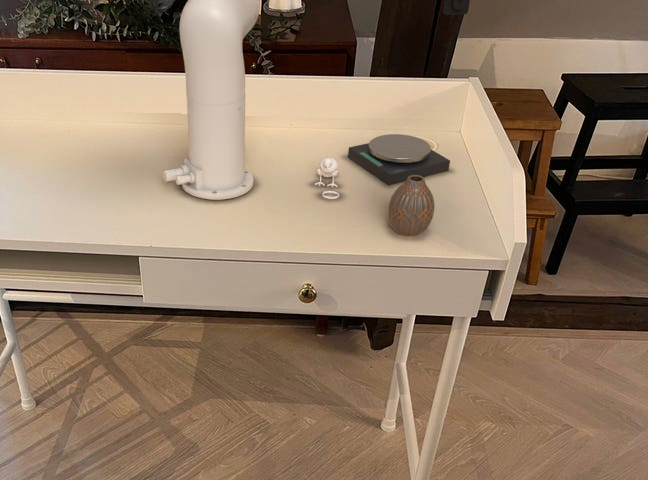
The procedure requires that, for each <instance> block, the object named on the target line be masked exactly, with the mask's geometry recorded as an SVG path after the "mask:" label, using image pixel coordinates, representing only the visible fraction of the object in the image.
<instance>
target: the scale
mask: <svg viewBox="0 0 648 480" xmlns="http://www.w3.org/2000/svg"><path fill="white" fill-rule="evenodd" d="M368 147H369V142H367V143H363V144H359V145H354V146H348V151H347V153H348V154H347V158H348V159H349V160H351V161H352V162H354V163H355V164H357V165H358V166H360V167H361V168H363V169H364V170H366V171H367V172H369V174H371V175H373V176H374V177H375V178H377V179H379V180H380V181H382V182H383V183H384V184H386V185H388V186H390V185H394V184H395V185H396V184H399V183H404V182H405V181H406V180H407V178H408V177H409V176H411V175H419V176H422V177H423V178H425V177H428V176H432V175H436V174H437V175H438V174H441V173H446V172H449V171H450V164H451V160H450V159H449V158H447V157H445V156H443V155H442V154H440V153H438V152H436V151H435V150H433V149H431V152H430V155H429V156H428V157H427V158H426V159H424V160H421V161H417V162H411V163H398V162H390V161H386V160H382V159H380V158H377V157H375V156H374V155H372V154H371V153H370V151H369V148H368Z"/></svg>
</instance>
